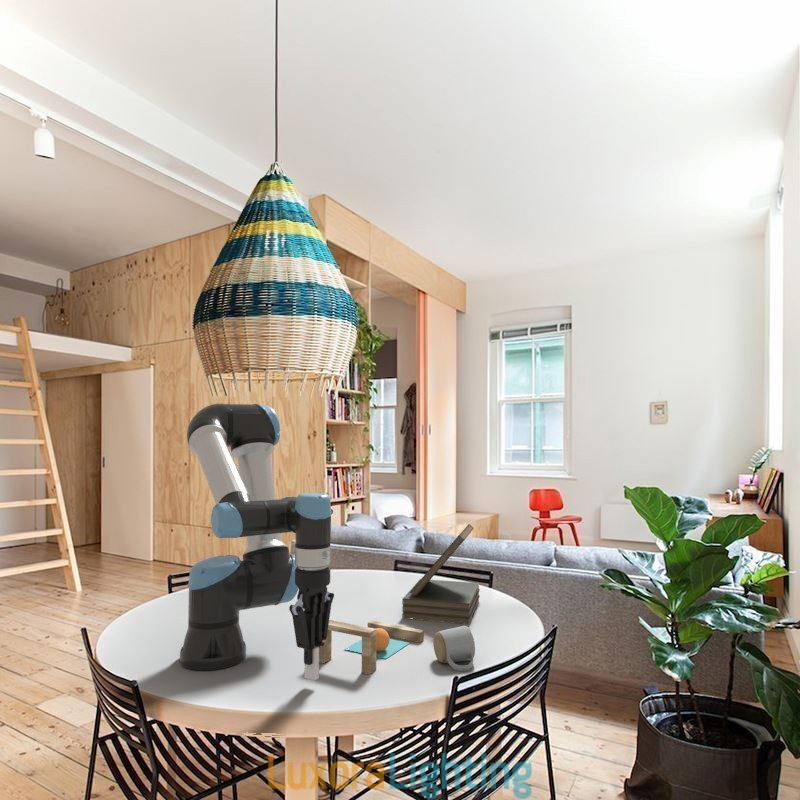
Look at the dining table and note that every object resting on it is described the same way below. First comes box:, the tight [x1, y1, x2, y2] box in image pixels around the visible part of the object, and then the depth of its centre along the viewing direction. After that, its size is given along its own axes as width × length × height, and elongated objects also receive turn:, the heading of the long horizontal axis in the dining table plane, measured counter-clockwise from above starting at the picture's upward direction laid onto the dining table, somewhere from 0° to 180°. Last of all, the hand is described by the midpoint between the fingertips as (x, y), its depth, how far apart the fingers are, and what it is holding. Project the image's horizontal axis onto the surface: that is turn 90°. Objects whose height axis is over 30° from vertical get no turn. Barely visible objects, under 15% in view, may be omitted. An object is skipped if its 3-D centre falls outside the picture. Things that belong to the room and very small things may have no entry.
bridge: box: [319, 619, 377, 675], centre depth 142 cm, size 3×14×9 cm, turn 61°
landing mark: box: [344, 638, 410, 660], centre depth 154 cm, size 12×12×1 cm
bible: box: [401, 523, 481, 625], centre depth 185 cm, size 23×20×25 cm
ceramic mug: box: [432, 625, 476, 672], centre depth 144 cm, size 11×8×8 cm
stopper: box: [367, 620, 425, 643], centre depth 162 cm, size 16×2×2 cm, turn 61°
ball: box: [375, 628, 391, 652], centre depth 151 cm, size 6×6×6 cm
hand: (311, 677), depth 130 cm, fingers closed
